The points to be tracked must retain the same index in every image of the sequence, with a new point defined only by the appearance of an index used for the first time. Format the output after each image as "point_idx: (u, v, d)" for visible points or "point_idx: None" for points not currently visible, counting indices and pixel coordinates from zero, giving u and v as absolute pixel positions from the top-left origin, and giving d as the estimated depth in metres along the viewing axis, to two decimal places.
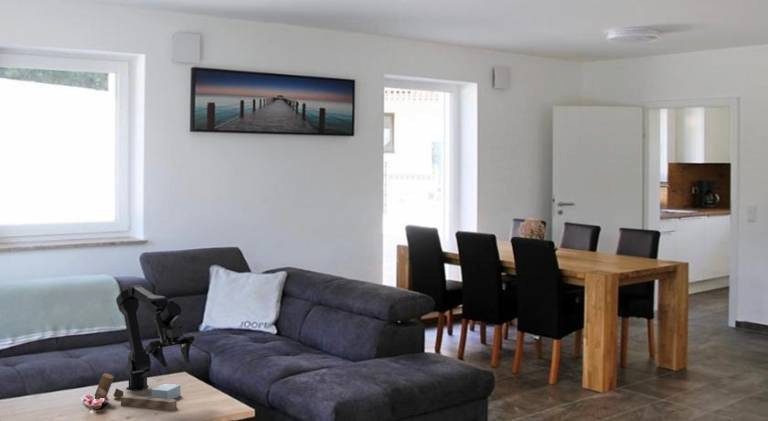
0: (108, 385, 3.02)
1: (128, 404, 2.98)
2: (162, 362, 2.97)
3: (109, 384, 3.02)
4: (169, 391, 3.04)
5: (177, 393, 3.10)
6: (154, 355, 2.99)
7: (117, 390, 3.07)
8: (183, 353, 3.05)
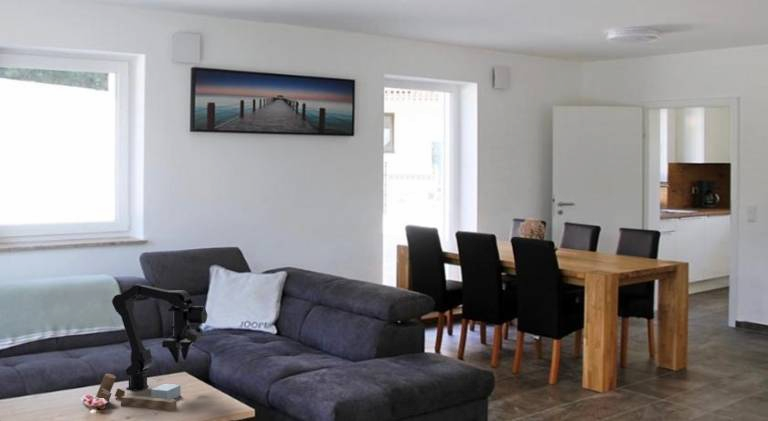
0: (111, 385, 3.02)
1: (128, 404, 2.98)
2: (176, 358, 3.15)
3: (112, 384, 3.03)
4: (169, 391, 3.04)
5: (177, 394, 3.10)
6: (170, 348, 3.14)
7: (118, 390, 3.08)
8: (182, 348, 3.22)
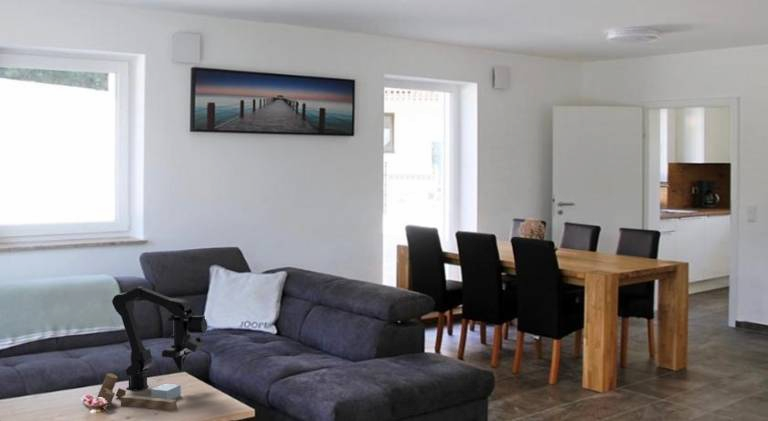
0: (112, 385, 3.03)
1: (128, 404, 2.98)
2: (179, 366, 3.18)
3: (113, 384, 3.03)
4: (168, 391, 3.04)
5: (177, 394, 3.10)
6: None
7: (120, 390, 3.08)
8: None
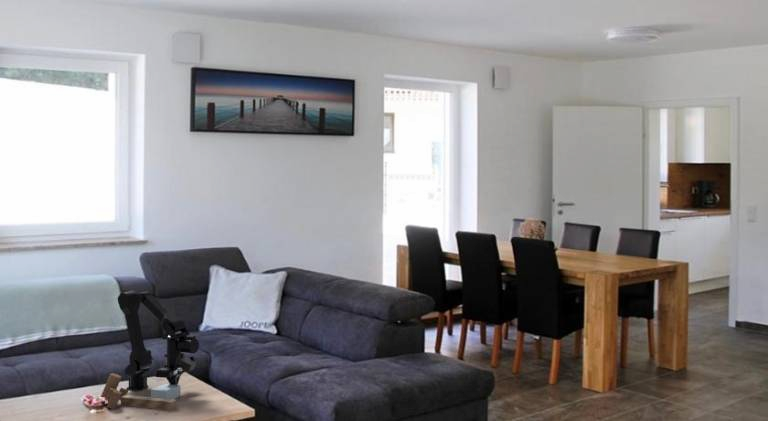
0: (116, 385, 3.03)
1: (128, 404, 2.98)
2: None
3: (117, 383, 3.03)
4: (168, 391, 3.04)
5: (177, 394, 3.09)
6: None
7: (122, 389, 3.08)
8: None
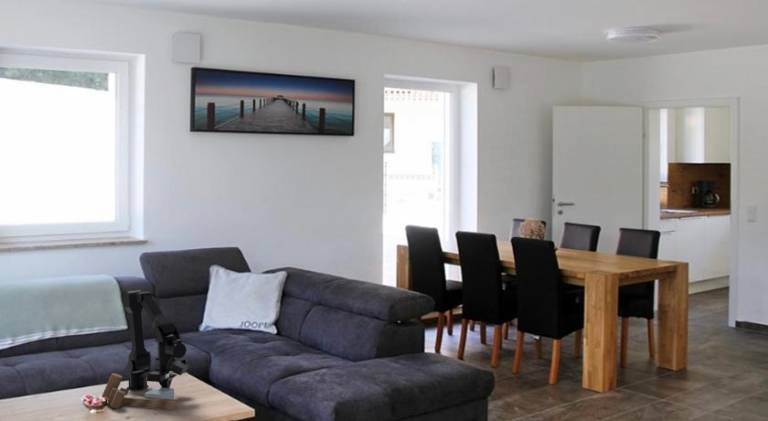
0: (118, 384, 3.03)
1: (128, 404, 2.98)
2: None
3: (119, 383, 3.04)
4: (162, 395, 2.98)
5: (171, 397, 3.04)
6: None
7: (122, 389, 3.09)
8: None
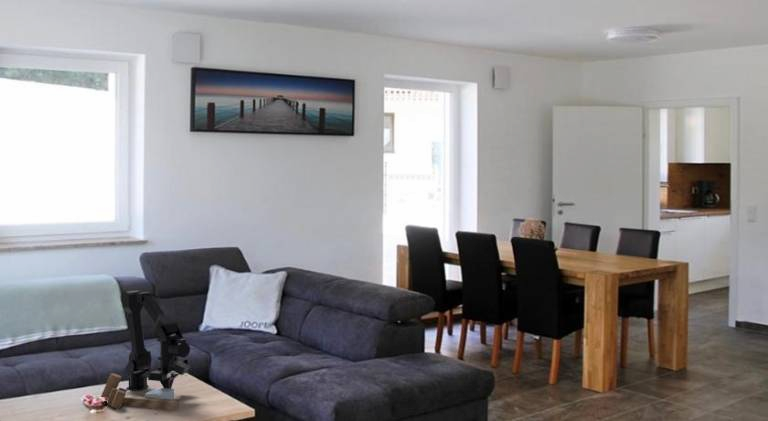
0: (117, 384, 3.03)
1: (128, 404, 2.98)
2: None
3: (118, 383, 3.03)
4: (162, 395, 2.99)
5: (171, 398, 3.04)
6: None
7: (120, 389, 3.09)
8: None
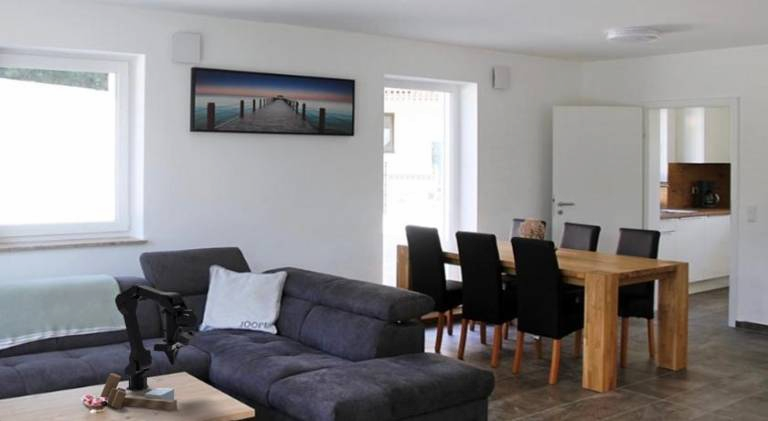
0: (117, 384, 3.03)
1: (128, 404, 2.98)
2: (171, 360, 3.12)
3: (117, 383, 3.04)
4: (162, 395, 2.98)
5: (171, 398, 3.04)
6: None
7: (119, 389, 3.09)
8: None
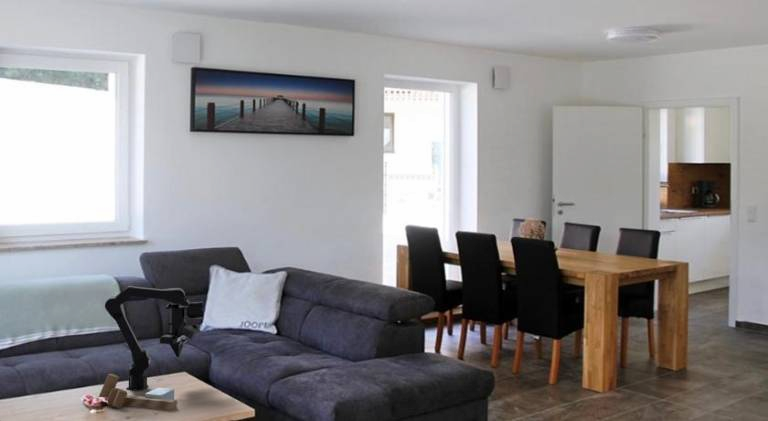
0: (115, 384, 3.03)
1: (128, 404, 2.98)
2: (176, 352, 3.25)
3: (116, 383, 3.03)
4: (163, 395, 2.99)
5: (171, 398, 3.04)
6: (170, 343, 3.24)
7: None
8: None
